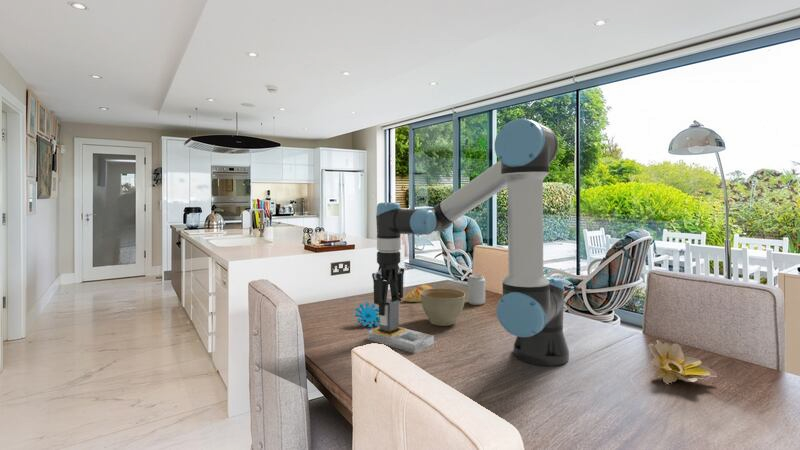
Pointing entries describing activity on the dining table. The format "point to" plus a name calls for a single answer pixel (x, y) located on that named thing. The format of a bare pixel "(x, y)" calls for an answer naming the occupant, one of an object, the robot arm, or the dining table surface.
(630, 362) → the dining table surface
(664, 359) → the decorative flower
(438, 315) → the planter bowl
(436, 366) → the dining table surface
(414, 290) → the croissant
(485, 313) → the dining table surface
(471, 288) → the can
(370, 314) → the gear
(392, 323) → the peg
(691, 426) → the dining table surface
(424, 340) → the grey slotted holder
